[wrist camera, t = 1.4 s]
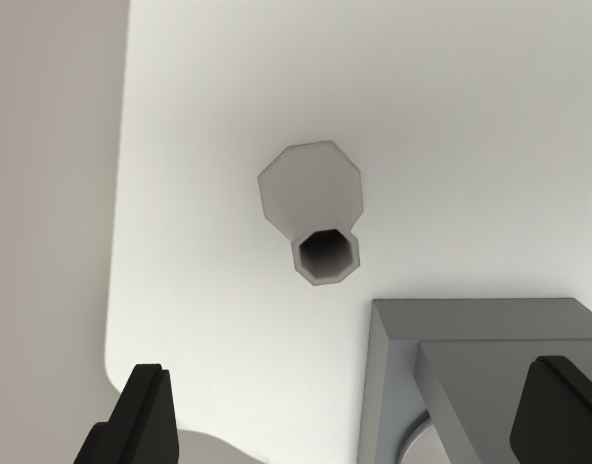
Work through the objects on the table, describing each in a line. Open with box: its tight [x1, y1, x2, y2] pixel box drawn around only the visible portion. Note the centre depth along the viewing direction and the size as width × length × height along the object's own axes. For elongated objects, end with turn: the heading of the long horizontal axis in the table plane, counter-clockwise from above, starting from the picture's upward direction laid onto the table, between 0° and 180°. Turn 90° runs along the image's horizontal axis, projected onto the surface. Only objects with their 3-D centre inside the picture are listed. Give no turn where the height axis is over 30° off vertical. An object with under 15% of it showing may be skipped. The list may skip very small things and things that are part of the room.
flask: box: [258, 141, 363, 286], centre depth 23 cm, size 7×7×10 cm
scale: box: [357, 298, 592, 464], centre depth 28 cm, size 16×18×14 cm
